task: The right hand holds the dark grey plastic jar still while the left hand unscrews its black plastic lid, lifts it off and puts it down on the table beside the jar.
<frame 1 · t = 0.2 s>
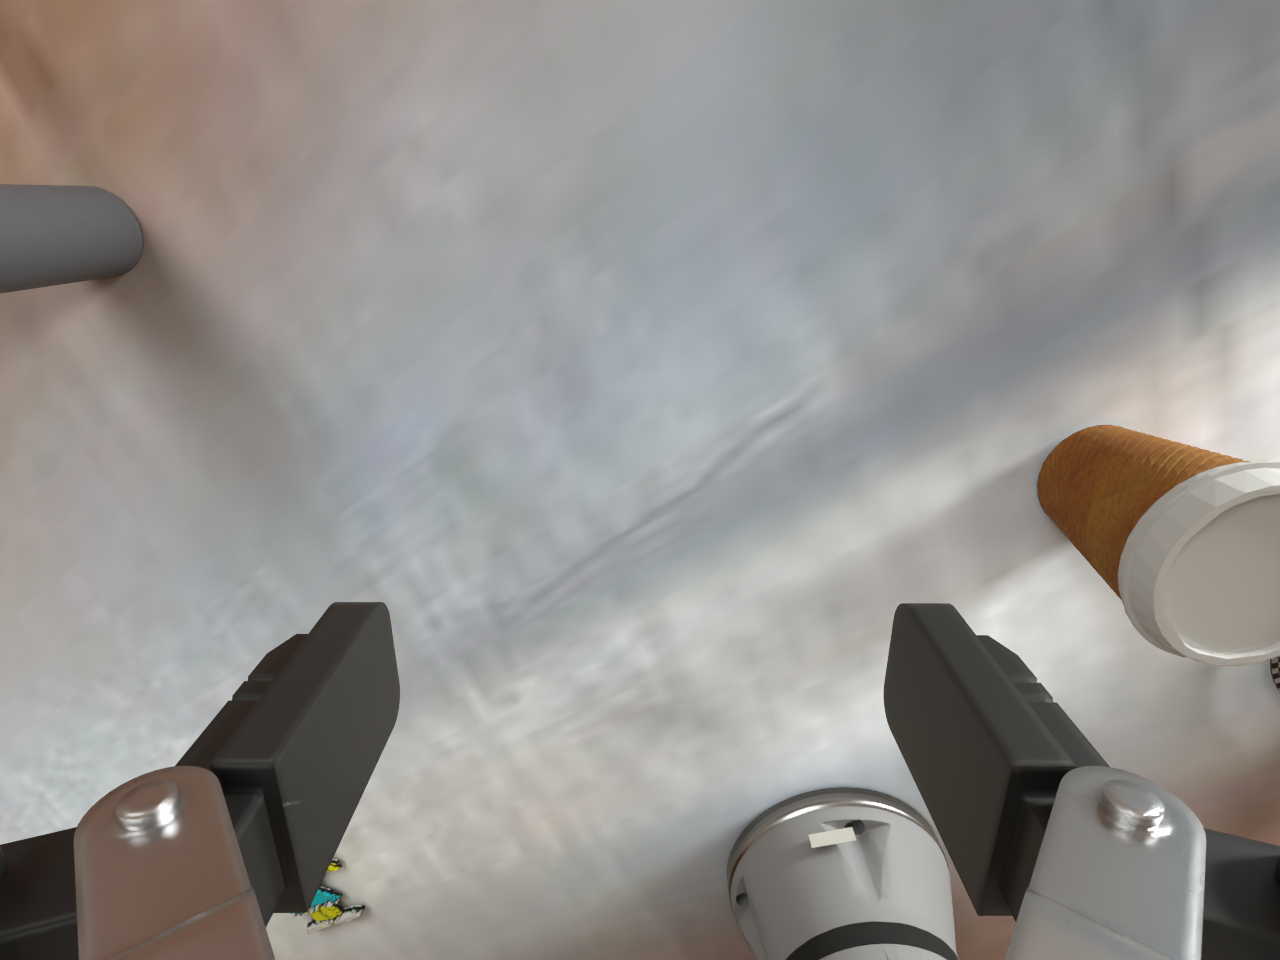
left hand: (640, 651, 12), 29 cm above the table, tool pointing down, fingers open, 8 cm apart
toy 2: (260, 854, 52), on the table
jar: (99, 232, 37), on the table
disposable coffee cup: (1090, 476, 42), on the table
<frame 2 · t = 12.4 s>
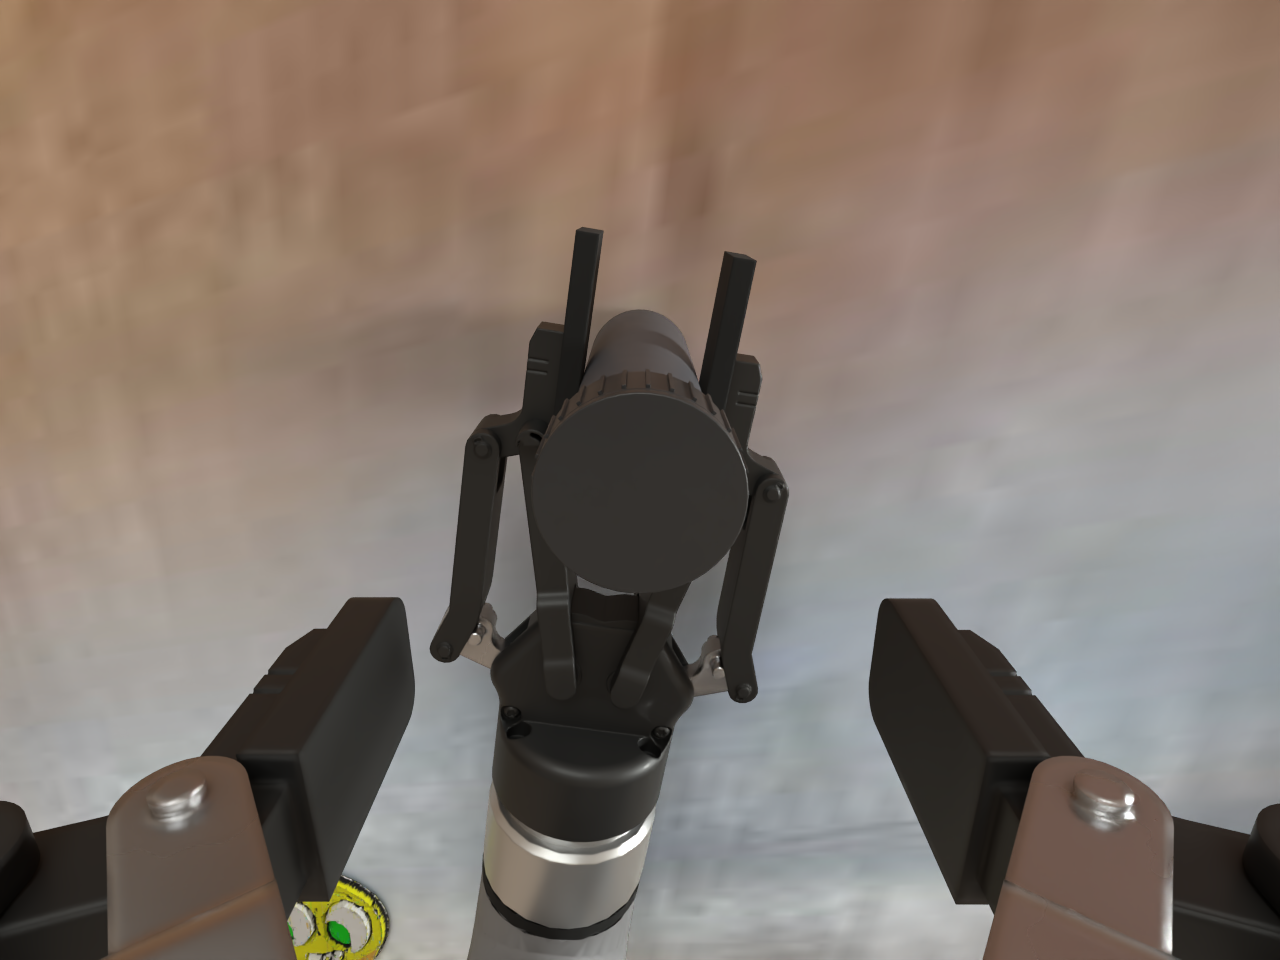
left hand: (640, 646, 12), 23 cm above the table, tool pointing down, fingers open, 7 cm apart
toy 2: (333, 945, 46), on the table
lid: (639, 493, 18), point 16 cm above the table, screwed on, not yet turned
jar: (639, 358, 33), on the table, touching right hand
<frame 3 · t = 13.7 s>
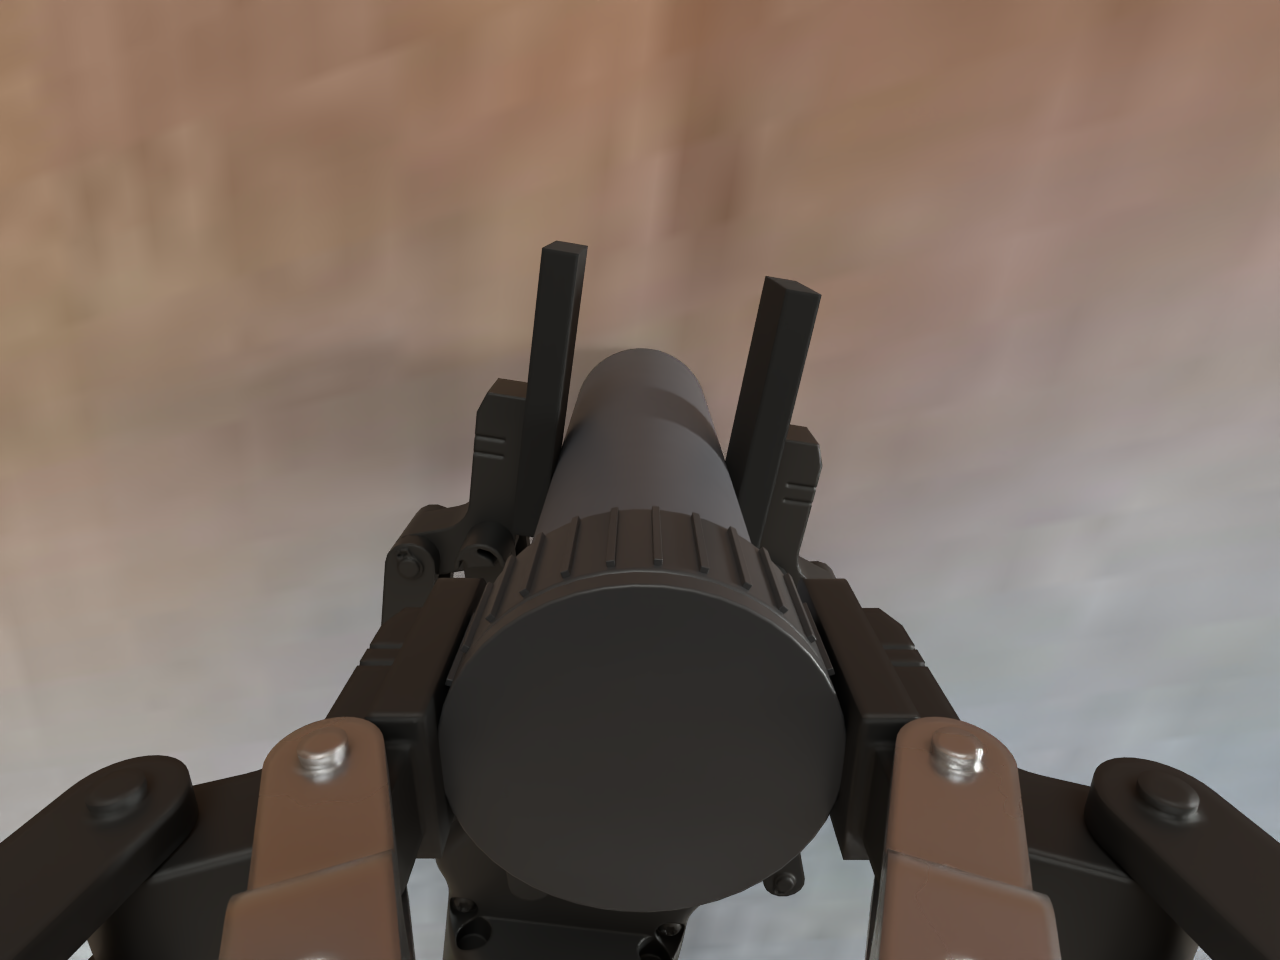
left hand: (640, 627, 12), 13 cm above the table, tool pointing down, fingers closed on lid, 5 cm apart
lid: (641, 746, 10), point 16 cm above the table, screwed on, not yet turned, touching left hand
jar: (641, 412, 25), on the table, touching right hand
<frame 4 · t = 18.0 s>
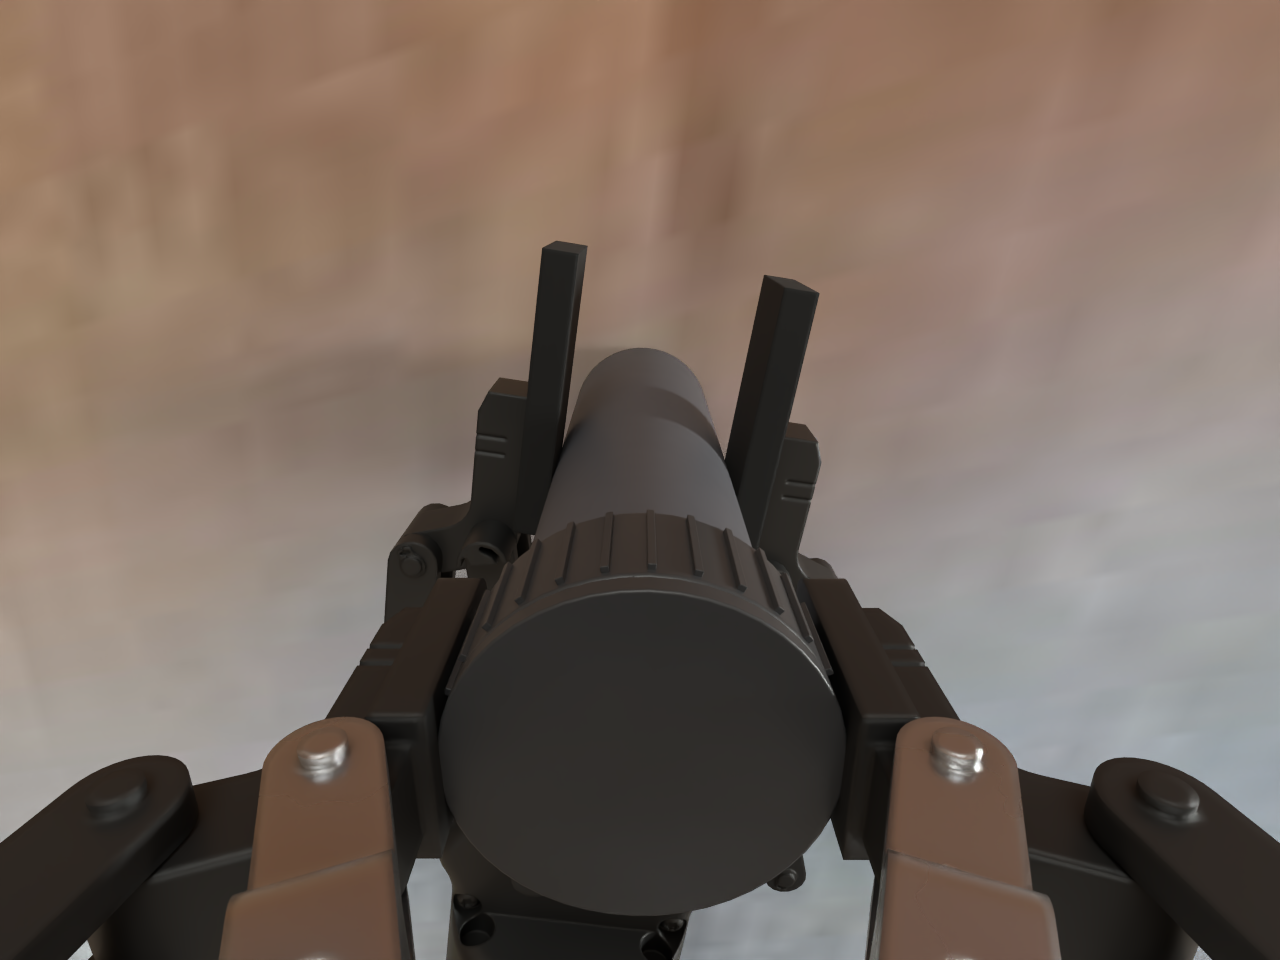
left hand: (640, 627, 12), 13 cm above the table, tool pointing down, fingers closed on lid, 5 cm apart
lid: (642, 750, 10), point 16 cm above the table, turned 101° so far, risen 0.2 cm, still on its thread, touching left hand
jar: (641, 411, 25), on the table, touching right hand
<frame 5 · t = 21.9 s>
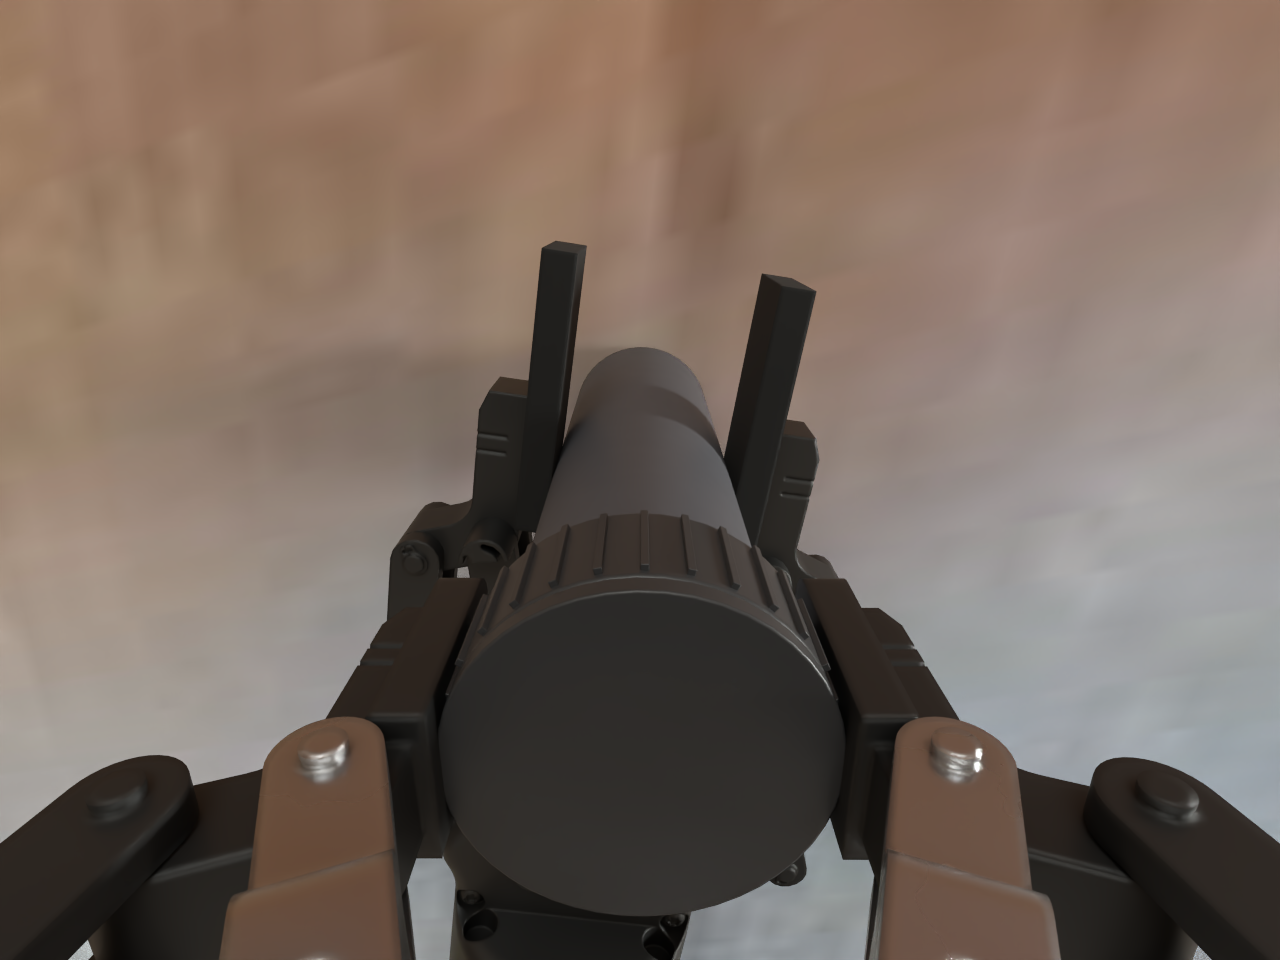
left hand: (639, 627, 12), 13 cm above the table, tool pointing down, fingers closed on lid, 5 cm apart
lid: (641, 751, 10), point 16 cm above the table, turned 201° so far, risen 0.3 cm, still on its thread, touching left hand
jar: (641, 410, 25), on the table, touching right hand
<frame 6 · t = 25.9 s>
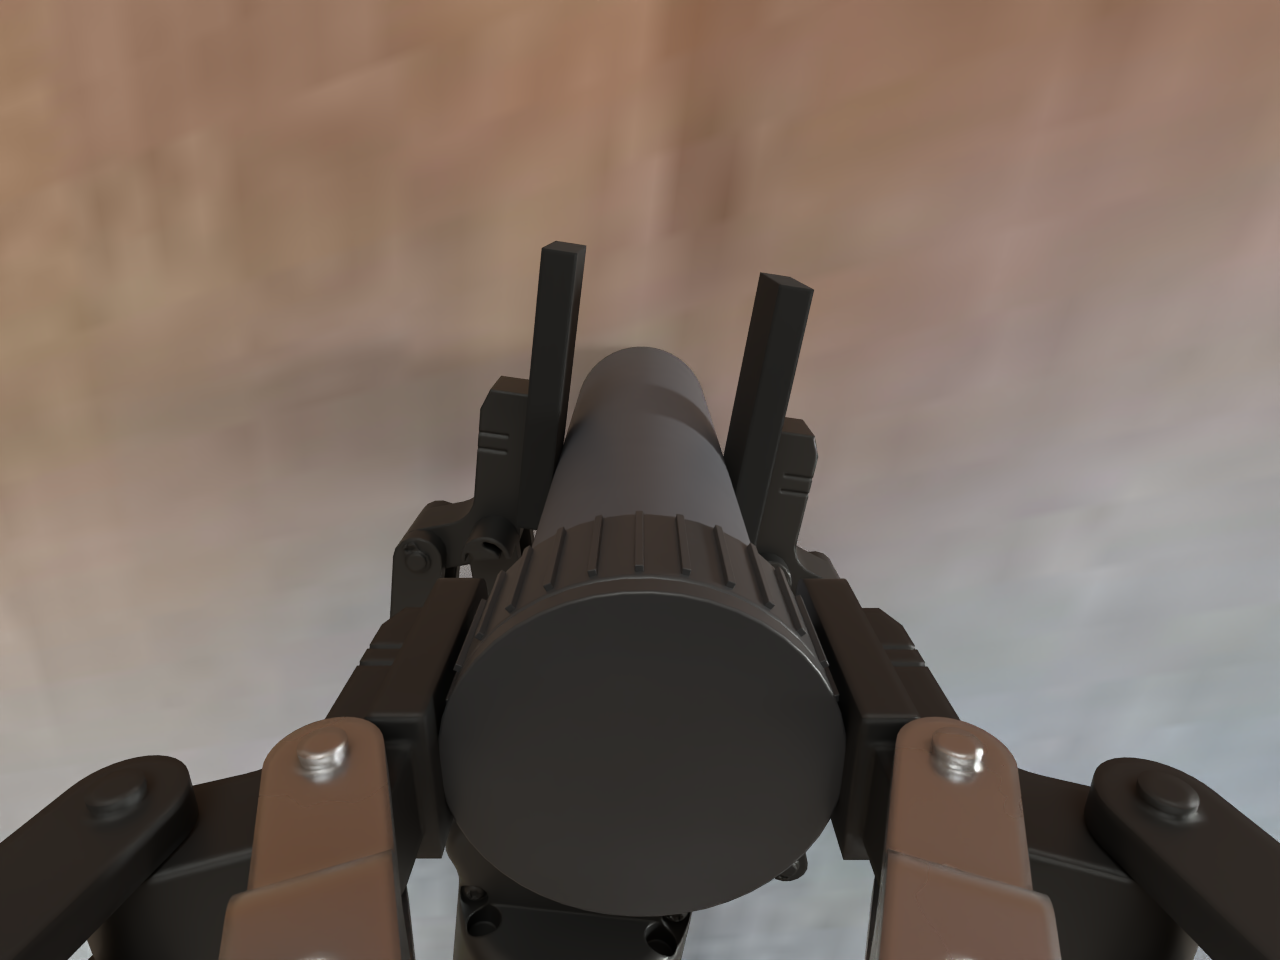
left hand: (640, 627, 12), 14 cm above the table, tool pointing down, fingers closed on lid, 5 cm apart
lid: (642, 751, 10), point 16 cm above the table, turned 302° so far, risen 0.5 cm, still on its thread, touching left hand
jar: (641, 409, 25), on the table, touching right hand
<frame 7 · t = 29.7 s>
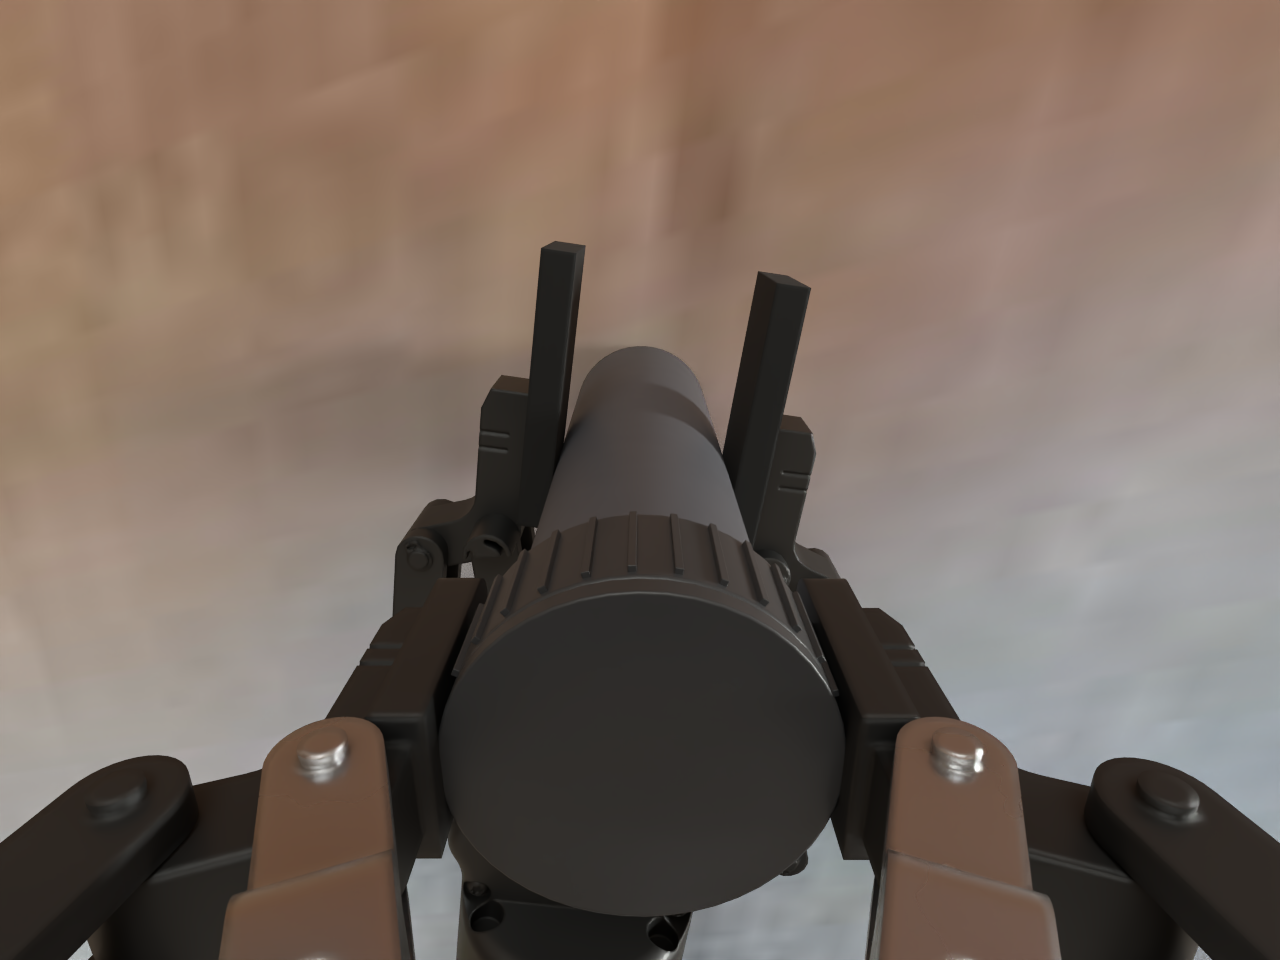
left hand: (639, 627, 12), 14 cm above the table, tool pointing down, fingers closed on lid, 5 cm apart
lid: (641, 752, 10), point 17 cm above the table, turned 403° so far, risen 0.6 cm, still on its thread, touching left hand
jar: (641, 408, 25), on the table, touching right hand
when the left hand's fingers open (0 cm above the table, at t = 37.1 s): lid drops 1 cm, point 2 cm above the table.
when the right hand's fingers open (7 cm above the table, at t = 37.9 s): jar stays where it is, on the table.
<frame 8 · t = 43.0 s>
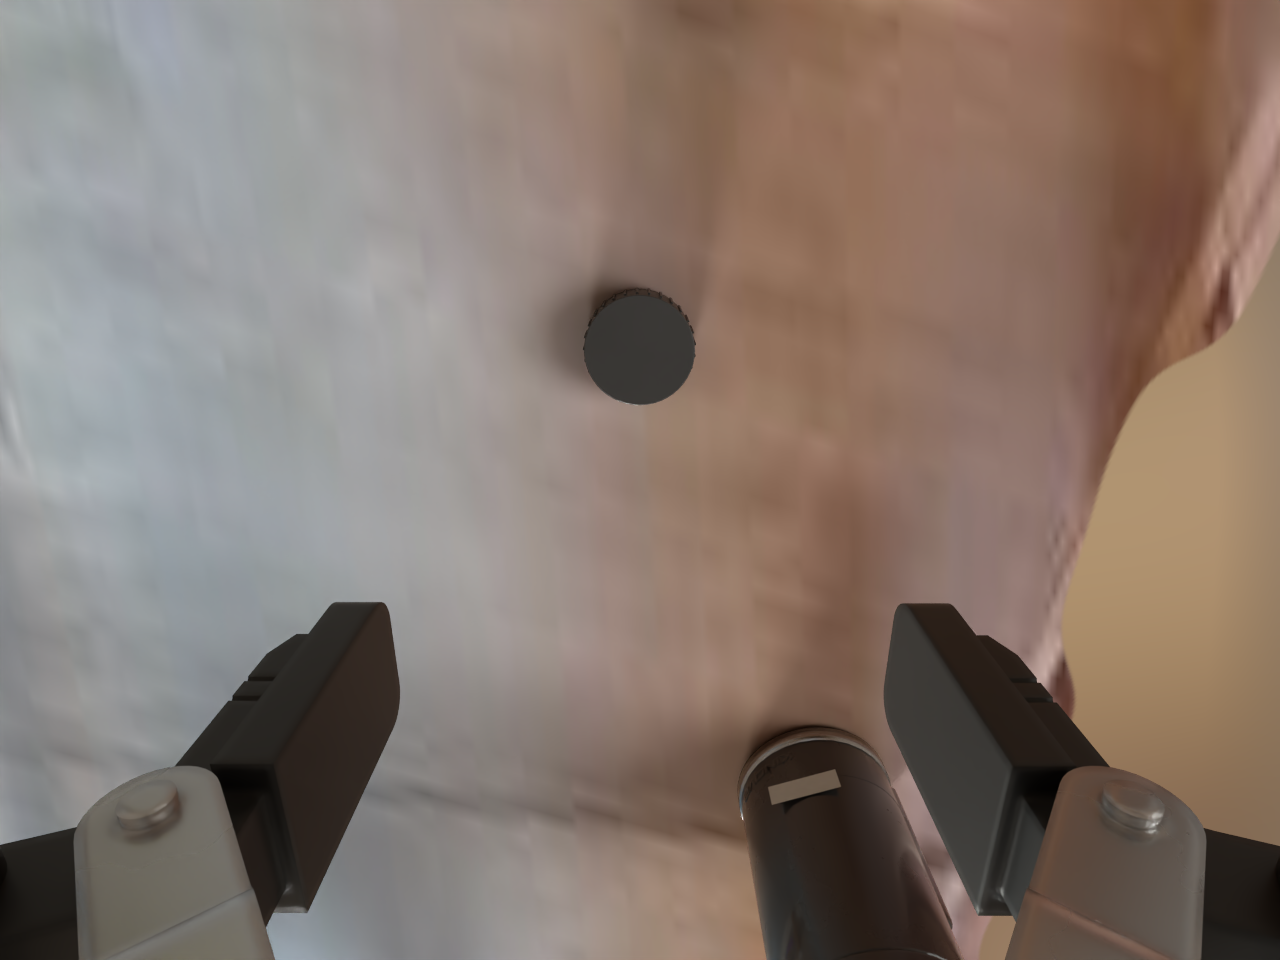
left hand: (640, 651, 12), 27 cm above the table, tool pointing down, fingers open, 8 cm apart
lid: (639, 350, 35), point 2 cm above the table, off its thread
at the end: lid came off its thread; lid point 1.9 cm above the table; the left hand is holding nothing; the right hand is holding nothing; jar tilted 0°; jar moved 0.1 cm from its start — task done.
